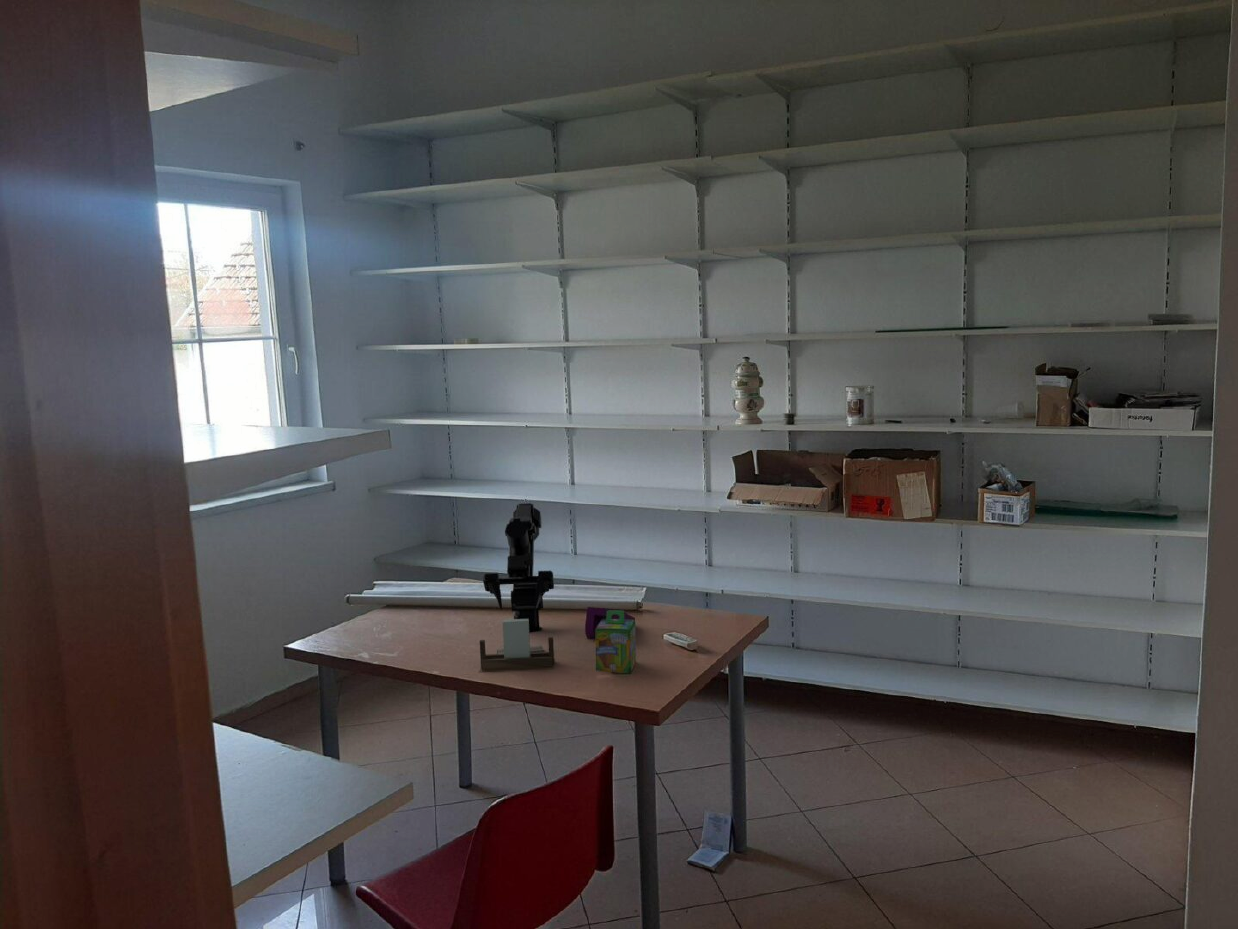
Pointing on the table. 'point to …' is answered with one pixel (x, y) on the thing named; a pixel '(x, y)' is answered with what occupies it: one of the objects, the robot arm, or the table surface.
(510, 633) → the sage panel
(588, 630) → the mounting bracket
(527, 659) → the walnut rack
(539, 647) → the upper offcut
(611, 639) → the chalk box
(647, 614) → the table surface
